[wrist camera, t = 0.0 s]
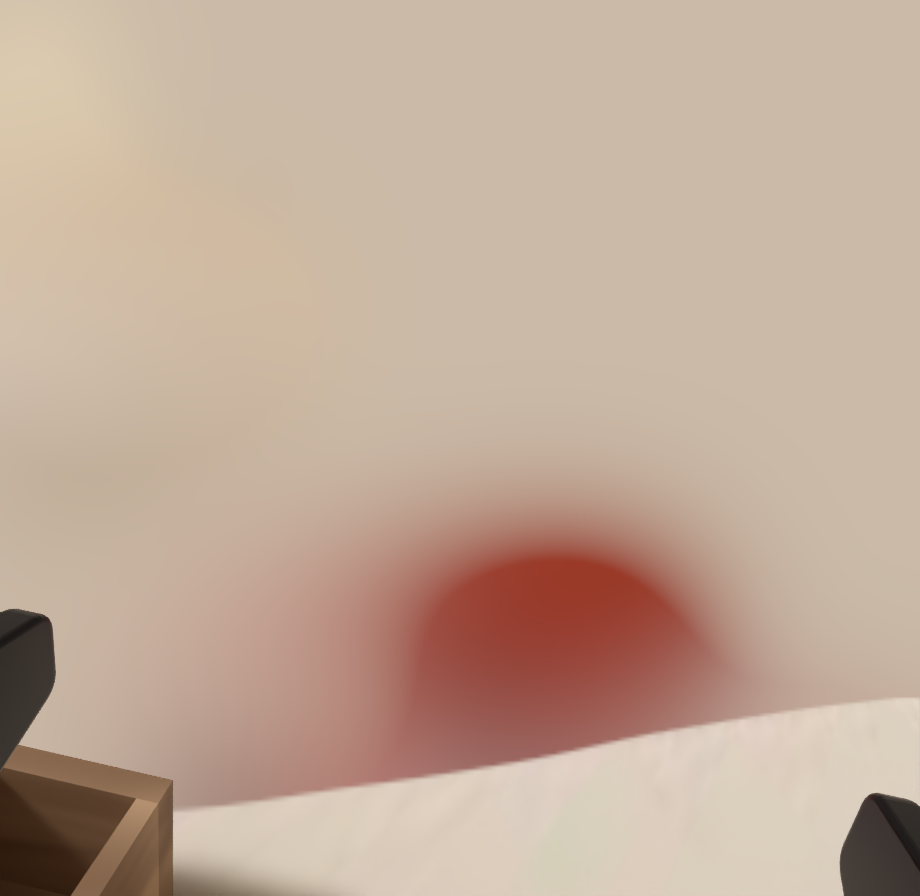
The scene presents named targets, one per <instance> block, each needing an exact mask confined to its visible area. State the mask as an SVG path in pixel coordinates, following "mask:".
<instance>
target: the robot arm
mask: <svg viewBox="0 0 920 896" xmlns="http://www.w3.org/2000/svg"><path fill="white" fill-rule="evenodd" d="M55 675H56V670H55V656H54V641H53V628H52V623H51V622H50V620H49V618H48V617H46V616H45V615H43V614H38V613H34V612H29V611H24V610H20V609H9V610H5V611H3V612H0V772H1V770H2V769H3V767H4V766H5V764H6V763H7V761H8V759H9V758H10V756H11V755H12V753H13V752H14V750H15V749H16V747H17V745H18V744H19V742H20V741H21V739H22V738H23V736H24V734H25V733H26V731H27V730H28V728H29V727H30V725H31V724H32V722H33V720H34V719H35V717H36V716H37V714H38V713H39V711H40V710H41V708H42V706H43V705H44V703H45V702H46V700H47V699H48V697H49V695H50V693H51V691H52V688H53V685H54V682H55ZM840 874H841V880H842V886H843V892H844V896H920V806H918V805H917V804H916V803H914V802H913V801H910V800H908V799H904V798H899V797H894V796H890V795H885V794H880V793H873V794H870V795H868V796H867V797H866V798H865V800H864V801H863V803H862V805H861V807H860V809H859V811H858V814H857V816H856V818H855V820H854V822H853V825H852V827H851V829H850V831H849V833H848V836H847V838H846V840H845V842H844V844H843V847H842V850H841V855H840Z"/></svg>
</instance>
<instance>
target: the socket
mask: <svg viewBox="0 0 920 896" xmlns="http://www.w3.org/2000/svg"><path fill="white" fill-rule="evenodd" d="M0 896H173V781H172V780H169V779H165V778H160V777H156V776H152V775H147V774H143V773H139V772H134V771H130V770H125V769H121V768H117V767H112V766H108V765H104V764H99V763H95V762H90V761H86V760H82V759H77V758H73V757H69V756H64V755H60V754H55V753H51V752H47V751H42V750H38V749H34V748H29V747H25V746H21V745H17V747H16V749H15V750H14V752H13V753H12V755H11V756H10V758H9V759H8V761H7V763H6V764H5V766H4V767H3V769H2V770H1V772H0Z"/></svg>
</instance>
